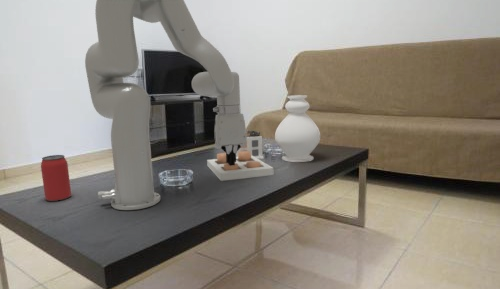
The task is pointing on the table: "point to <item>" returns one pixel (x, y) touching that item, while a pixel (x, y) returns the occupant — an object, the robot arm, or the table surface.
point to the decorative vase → (297, 131)
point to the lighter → (254, 134)
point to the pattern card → (253, 147)
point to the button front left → (230, 167)
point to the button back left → (221, 158)
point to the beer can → (55, 178)
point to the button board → (239, 170)
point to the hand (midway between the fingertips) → (231, 164)
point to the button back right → (244, 156)
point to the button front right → (253, 164)
